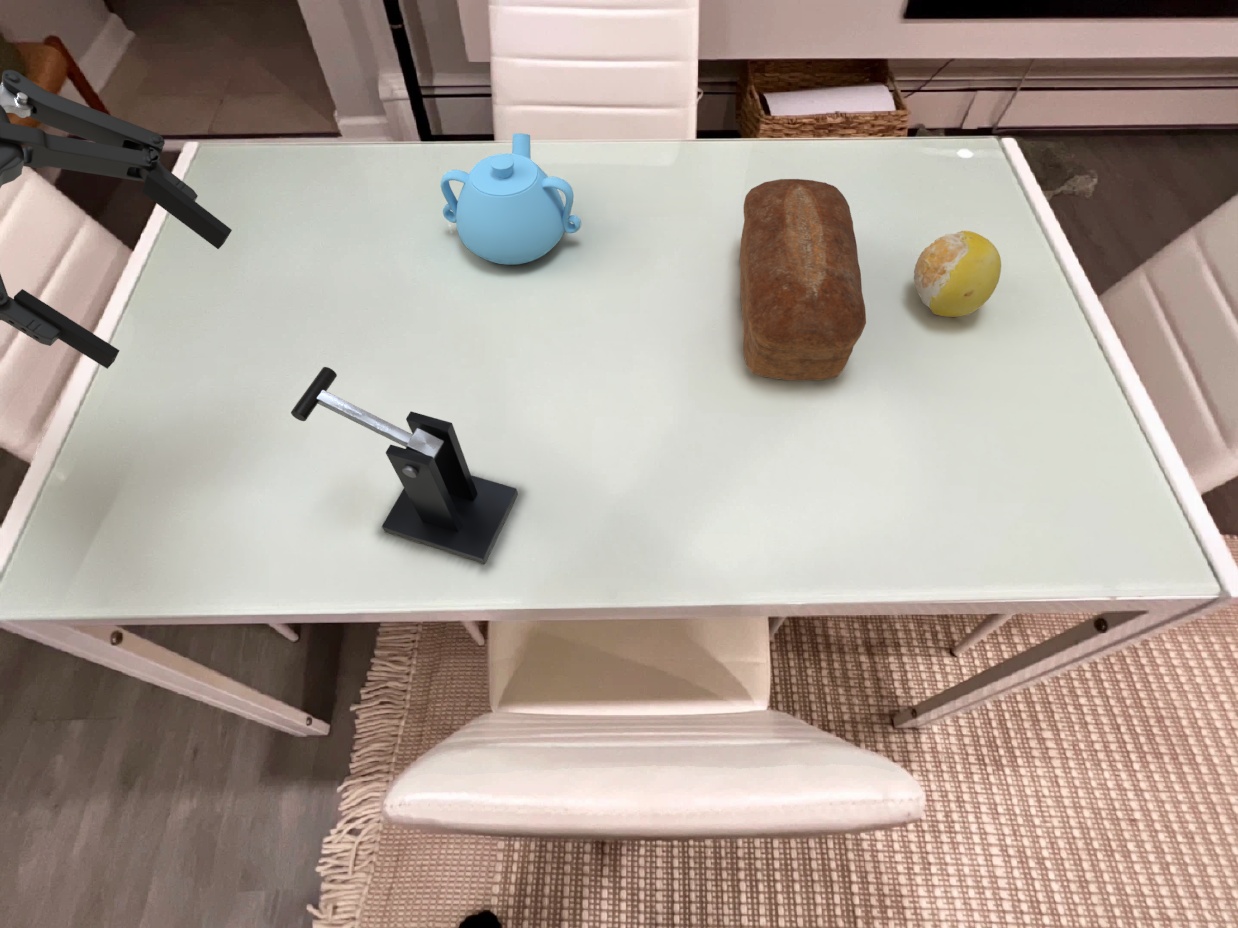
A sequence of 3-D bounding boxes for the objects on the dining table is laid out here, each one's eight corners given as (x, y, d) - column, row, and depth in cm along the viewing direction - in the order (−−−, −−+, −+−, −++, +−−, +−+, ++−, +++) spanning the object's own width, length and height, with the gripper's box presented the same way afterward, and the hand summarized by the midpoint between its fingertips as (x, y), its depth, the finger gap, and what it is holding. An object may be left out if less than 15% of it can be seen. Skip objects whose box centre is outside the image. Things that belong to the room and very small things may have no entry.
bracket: (384, 532, 77) (337, 459, 64) (422, 465, 81) (385, 385, 69) (485, 564, 75) (456, 494, 62) (518, 494, 79) (497, 416, 67)
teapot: (434, 269, 99) (411, 192, 88) (469, 180, 109) (452, 101, 99) (573, 281, 97) (566, 204, 87) (594, 189, 108) (591, 110, 97)
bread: (829, 239, 101) (852, 162, 91) (851, 394, 86) (881, 324, 76) (732, 235, 102) (744, 159, 92) (737, 389, 87) (751, 318, 77)
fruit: (966, 273, 97) (999, 213, 89) (990, 331, 92) (1026, 273, 83) (893, 275, 97) (918, 215, 89) (911, 333, 92) (940, 275, 83)
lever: (290, 418, 65) (290, 406, 63) (322, 374, 68) (322, 361, 65) (422, 482, 67) (425, 473, 65) (447, 437, 70) (452, 427, 68)
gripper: (-5, 14, 54) (251, 217, 64) (-330, 219, 41) (53, 431, 51) (-2, -57, 48) (277, 176, 58) (-376, 154, 36) (62, 406, 46)
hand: (173, 296), depth 55 cm, fingers open, 13 cm apart
